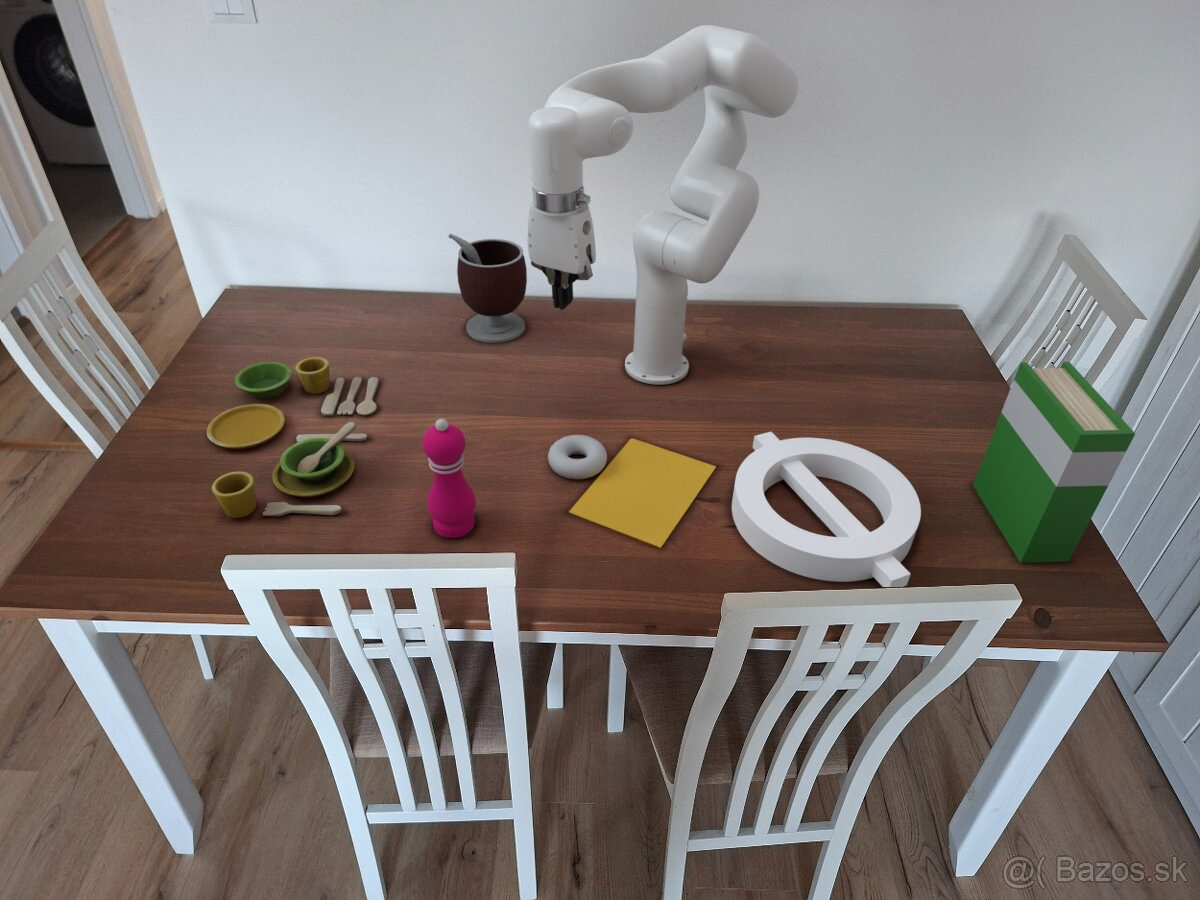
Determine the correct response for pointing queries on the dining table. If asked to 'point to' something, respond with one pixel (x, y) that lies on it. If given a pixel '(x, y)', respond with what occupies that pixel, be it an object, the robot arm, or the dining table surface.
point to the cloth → (644, 492)
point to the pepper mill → (448, 481)
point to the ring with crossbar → (826, 510)
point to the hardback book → (1050, 461)
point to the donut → (577, 467)
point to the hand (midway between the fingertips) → (563, 304)
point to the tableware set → (306, 463)
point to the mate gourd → (492, 287)
